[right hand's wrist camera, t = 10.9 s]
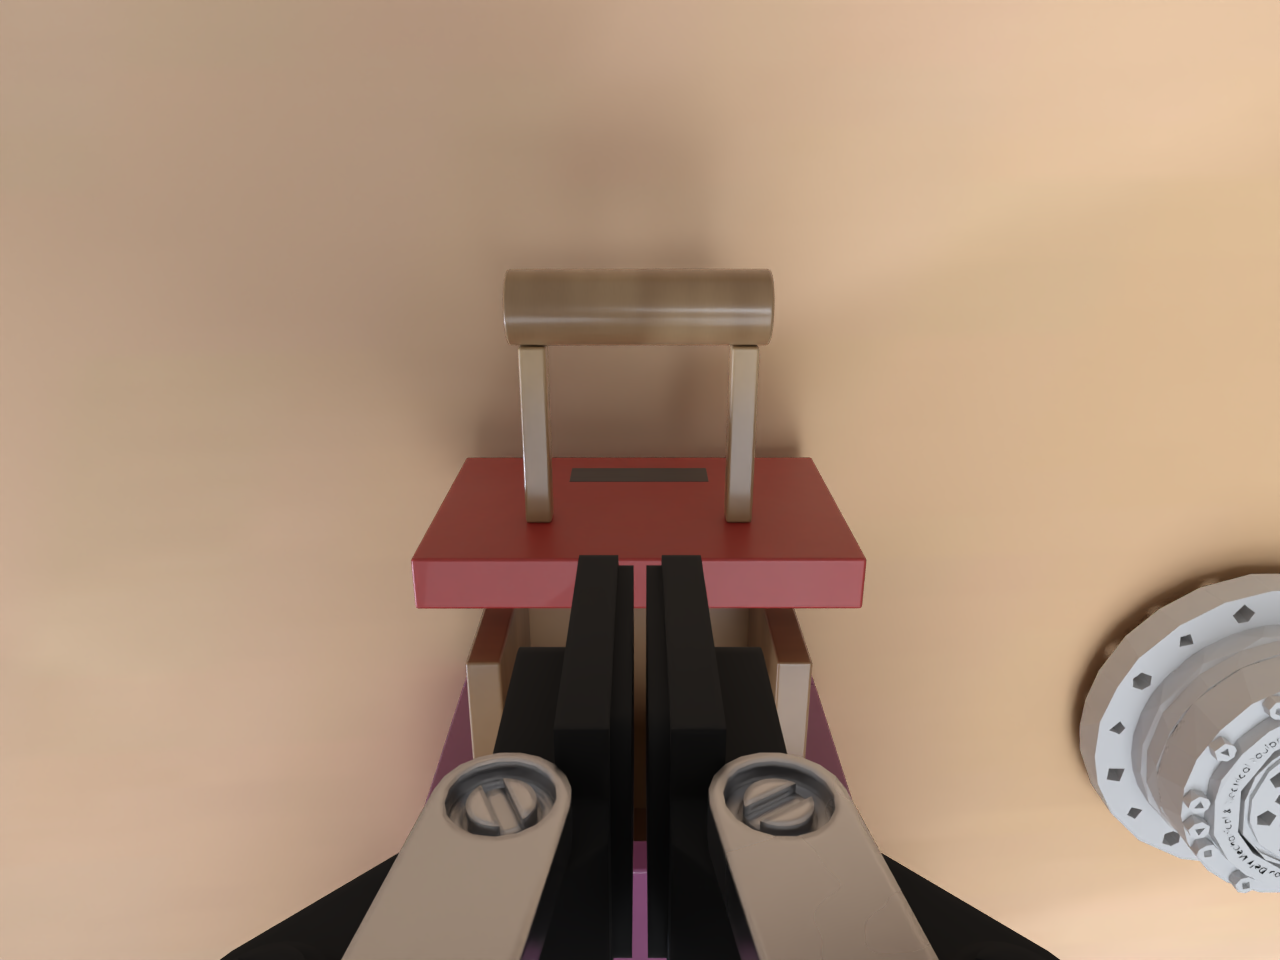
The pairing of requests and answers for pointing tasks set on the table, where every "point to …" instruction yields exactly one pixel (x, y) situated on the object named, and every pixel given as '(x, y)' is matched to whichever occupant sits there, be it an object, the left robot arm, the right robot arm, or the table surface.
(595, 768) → the right robot arm
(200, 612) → the table surface
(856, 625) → the table surface
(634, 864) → the cabinet
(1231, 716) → the mechanical component
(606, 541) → the drawer
